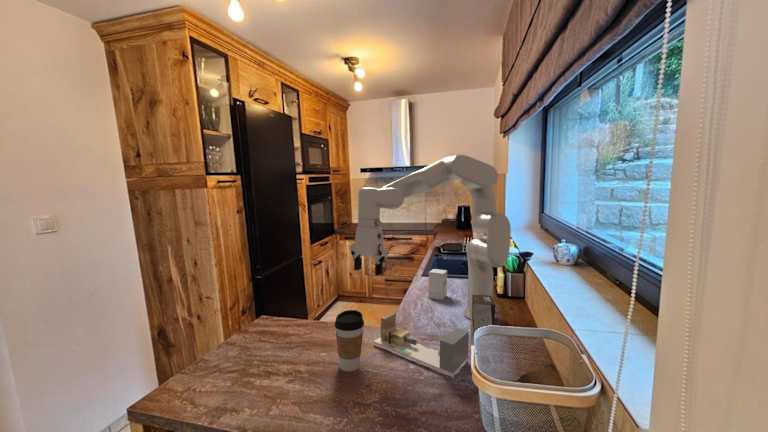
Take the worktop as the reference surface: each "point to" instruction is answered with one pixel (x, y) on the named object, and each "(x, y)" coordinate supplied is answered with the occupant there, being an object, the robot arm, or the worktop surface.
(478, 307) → the coffee box
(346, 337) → the coffee cup
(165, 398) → the worktop surface
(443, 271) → the supplement box
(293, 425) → the worktop surface
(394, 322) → the beige stepped block
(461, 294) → the worktop surface
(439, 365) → the beige vise
